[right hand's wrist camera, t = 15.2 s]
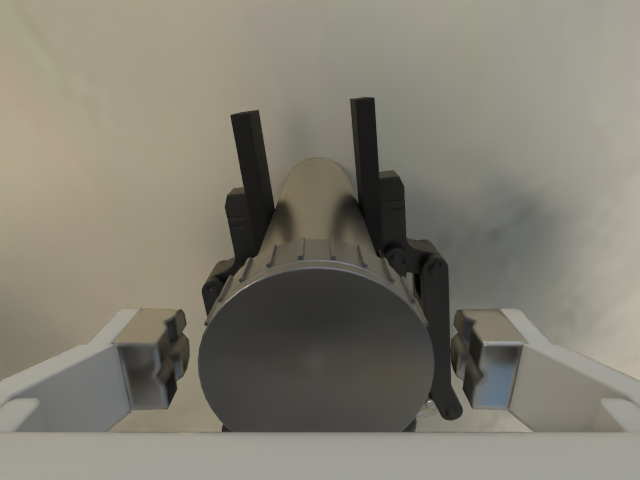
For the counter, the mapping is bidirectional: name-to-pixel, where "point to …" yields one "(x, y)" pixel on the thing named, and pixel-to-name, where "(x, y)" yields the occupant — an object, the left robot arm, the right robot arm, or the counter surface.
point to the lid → (316, 343)
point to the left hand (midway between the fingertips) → (303, 106)
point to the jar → (317, 207)
